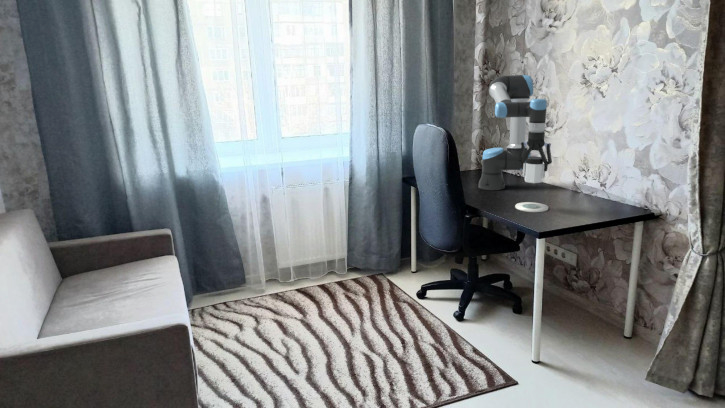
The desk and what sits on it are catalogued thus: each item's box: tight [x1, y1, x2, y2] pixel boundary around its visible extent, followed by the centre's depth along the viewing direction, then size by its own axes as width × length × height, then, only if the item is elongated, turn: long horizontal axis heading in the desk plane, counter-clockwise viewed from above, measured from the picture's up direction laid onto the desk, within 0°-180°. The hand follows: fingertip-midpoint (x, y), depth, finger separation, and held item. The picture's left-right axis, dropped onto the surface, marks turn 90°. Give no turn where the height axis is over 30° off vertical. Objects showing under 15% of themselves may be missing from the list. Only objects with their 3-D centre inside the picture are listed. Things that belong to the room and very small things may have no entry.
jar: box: [524, 155, 544, 184], centre depth 245 cm, size 9×8×12 cm
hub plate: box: [514, 201, 549, 213], centre depth 250 cm, size 16×16×1 cm
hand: (533, 176), depth 246 cm, fingers closed on jar, 9 cm apart
